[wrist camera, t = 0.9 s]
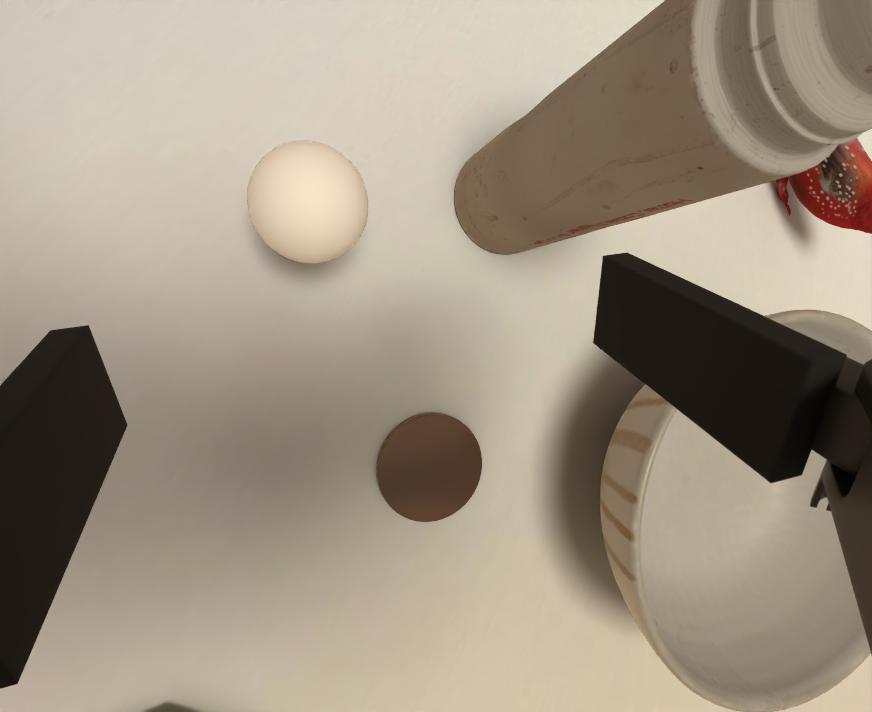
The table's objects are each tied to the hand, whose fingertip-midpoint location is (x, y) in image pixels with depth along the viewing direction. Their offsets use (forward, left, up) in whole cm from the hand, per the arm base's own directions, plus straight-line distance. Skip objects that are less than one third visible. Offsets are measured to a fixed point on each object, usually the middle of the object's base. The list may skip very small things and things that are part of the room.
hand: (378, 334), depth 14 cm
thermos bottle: (0, +17, -23) cm, 29 cm away
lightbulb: (-6, +3, -23) cm, 24 cm away
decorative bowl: (+27, +18, -23) cm, 40 cm away
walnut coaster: (+13, +1, -23) cm, 26 cm away
